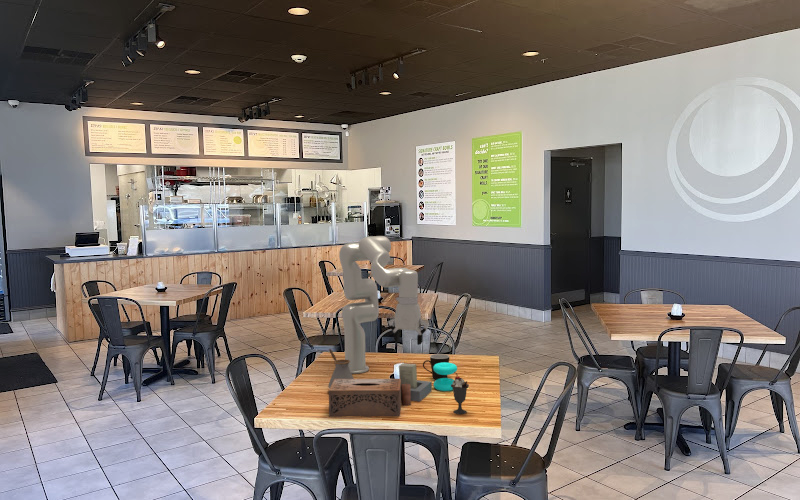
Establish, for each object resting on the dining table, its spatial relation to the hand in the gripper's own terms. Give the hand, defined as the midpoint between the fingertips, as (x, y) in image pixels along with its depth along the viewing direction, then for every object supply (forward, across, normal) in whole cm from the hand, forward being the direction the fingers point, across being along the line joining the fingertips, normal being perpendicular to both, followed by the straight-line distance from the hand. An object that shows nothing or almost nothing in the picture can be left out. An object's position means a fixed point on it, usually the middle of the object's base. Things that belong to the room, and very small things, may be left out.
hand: (408, 342), depth 238 cm
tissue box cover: (+21, -8, -23) cm, 32 cm away
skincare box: (+21, 0, 0) cm, 21 cm away
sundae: (+21, +26, -14) cm, 36 cm away
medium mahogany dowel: (+21, +4, -12) cm, 24 cm away
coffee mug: (+22, +4, +24) cm, 33 cm away
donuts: (+21, +12, +12) cm, 27 cm away
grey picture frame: (+21, +1, -1) cm, 21 cm away
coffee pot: (+22, -30, -4) cm, 37 cm away
